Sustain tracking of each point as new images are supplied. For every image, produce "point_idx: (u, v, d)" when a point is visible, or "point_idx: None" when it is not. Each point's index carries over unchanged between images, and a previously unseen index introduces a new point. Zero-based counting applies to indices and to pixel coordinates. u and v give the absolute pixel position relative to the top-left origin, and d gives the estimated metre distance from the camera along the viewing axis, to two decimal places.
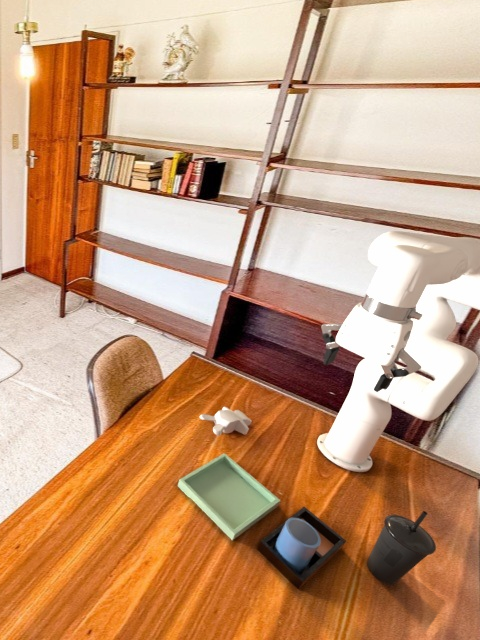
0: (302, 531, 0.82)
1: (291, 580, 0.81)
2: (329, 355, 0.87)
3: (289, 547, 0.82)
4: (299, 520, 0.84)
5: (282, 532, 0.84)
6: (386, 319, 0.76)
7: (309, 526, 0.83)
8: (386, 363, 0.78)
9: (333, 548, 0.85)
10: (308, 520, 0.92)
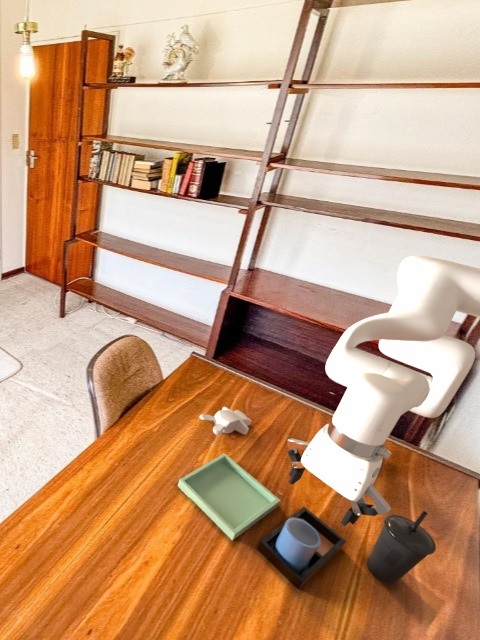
0: (302, 531, 0.82)
1: (291, 580, 0.81)
2: (294, 475, 0.80)
3: (289, 547, 0.82)
4: (299, 520, 0.84)
5: (282, 532, 0.84)
6: (352, 454, 0.68)
7: (309, 526, 0.83)
8: (353, 499, 0.71)
9: (333, 548, 0.85)
10: (308, 520, 0.92)
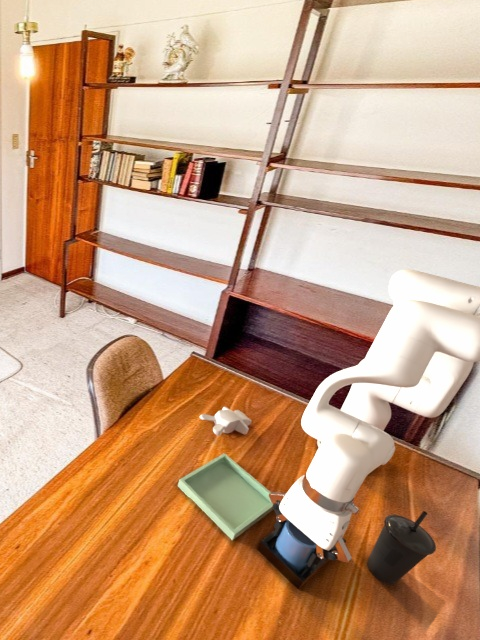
0: None
1: (291, 580, 0.81)
2: (279, 528, 0.85)
3: (289, 547, 0.82)
4: None
5: (282, 532, 0.84)
6: (323, 509, 0.74)
7: None
8: (325, 547, 0.76)
9: (333, 548, 0.85)
10: None
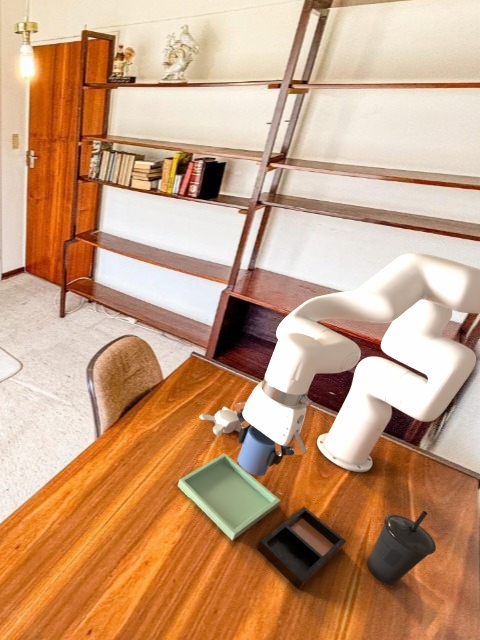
0: (263, 434, 0.87)
1: (291, 580, 0.81)
2: (242, 434, 0.89)
3: (251, 449, 0.86)
4: None
5: (245, 438, 0.88)
6: (279, 403, 0.78)
7: None
8: (283, 443, 0.81)
9: (333, 548, 0.85)
10: (308, 520, 0.92)
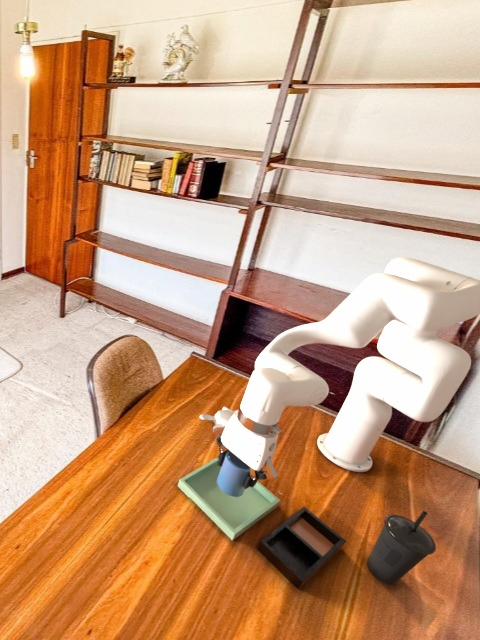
0: (240, 459, 0.93)
1: (291, 580, 0.81)
2: (221, 458, 0.96)
3: (228, 473, 0.93)
4: None
5: (223, 461, 0.95)
6: (253, 432, 0.85)
7: None
8: (256, 468, 0.88)
9: (333, 548, 0.85)
10: (308, 520, 0.92)
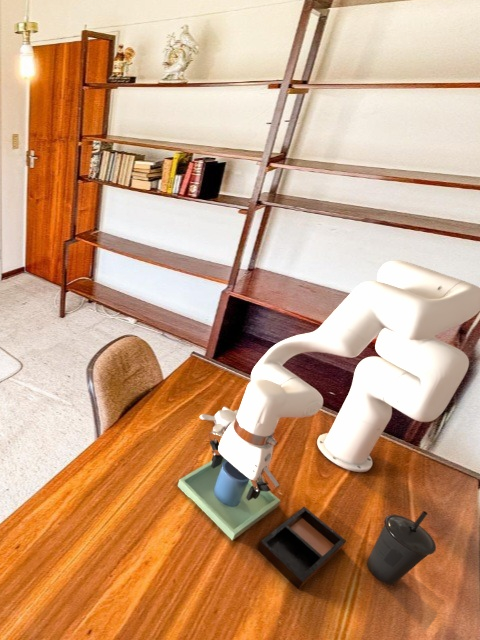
0: (236, 469, 0.95)
1: (291, 580, 0.81)
2: (214, 460, 0.98)
3: (224, 483, 0.94)
4: None
5: (220, 471, 0.97)
6: (248, 443, 0.86)
7: None
8: (252, 478, 0.89)
9: (333, 548, 0.85)
10: (308, 520, 0.92)
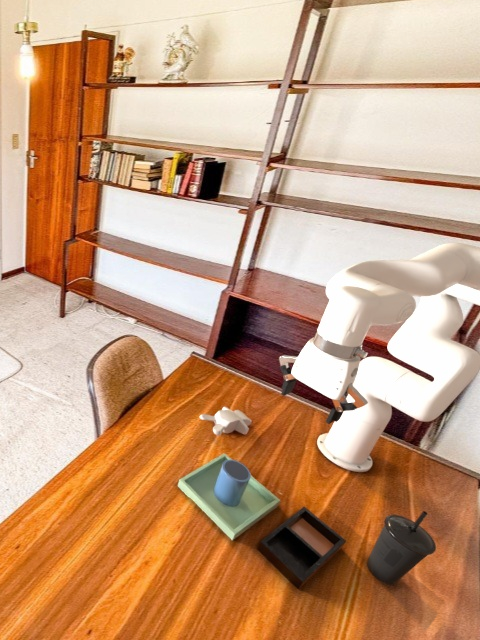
0: (236, 469, 0.95)
1: (291, 580, 0.81)
2: (286, 386, 0.91)
3: (224, 483, 0.94)
4: (235, 461, 0.97)
5: (220, 471, 0.97)
6: (333, 356, 0.79)
7: (242, 466, 0.96)
8: (335, 397, 0.82)
9: (333, 548, 0.85)
10: (308, 520, 0.92)
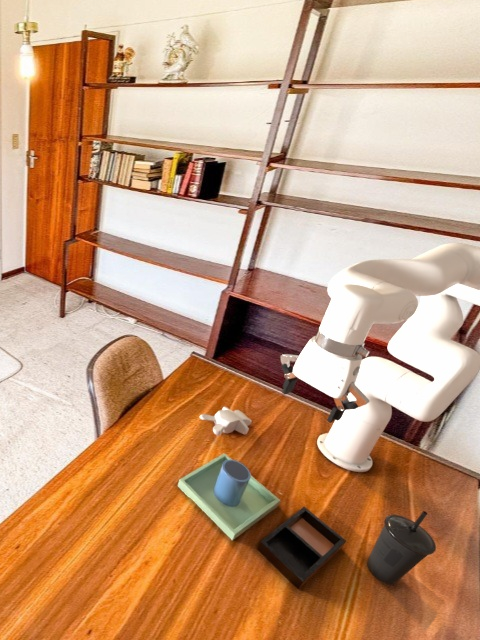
0: (236, 469, 0.95)
1: (291, 580, 0.81)
2: (287, 385, 0.91)
3: (224, 483, 0.94)
4: (235, 461, 0.97)
5: (220, 471, 0.97)
6: (335, 355, 0.79)
7: (242, 466, 0.96)
8: (337, 396, 0.82)
9: (333, 548, 0.85)
10: (308, 520, 0.92)
